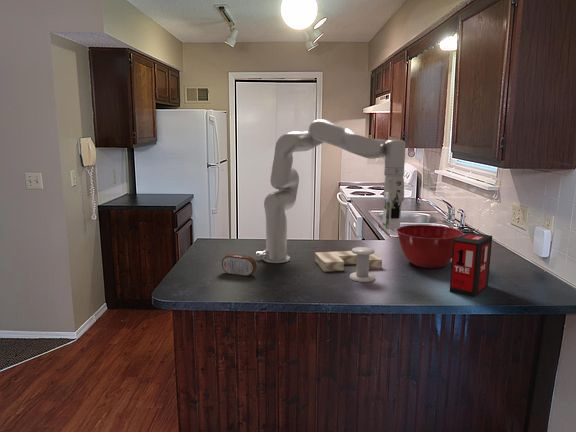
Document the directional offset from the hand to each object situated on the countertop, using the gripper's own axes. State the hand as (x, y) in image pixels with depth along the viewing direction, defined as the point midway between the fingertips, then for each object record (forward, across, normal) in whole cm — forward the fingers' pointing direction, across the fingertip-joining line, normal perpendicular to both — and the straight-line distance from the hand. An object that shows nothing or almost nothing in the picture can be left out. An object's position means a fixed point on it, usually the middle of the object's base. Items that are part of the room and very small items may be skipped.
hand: (391, 216), depth 181 cm
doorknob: (+25, 0, +11) cm, 28 cm away
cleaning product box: (+25, -18, -25) cm, 40 cm away
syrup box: (+5, 0, 0) cm, 5 cm away
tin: (+26, +13, +60) cm, 67 cm away
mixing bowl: (+26, +15, -25) cm, 38 cm away
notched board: (+25, +19, +11) cm, 34 cm away
